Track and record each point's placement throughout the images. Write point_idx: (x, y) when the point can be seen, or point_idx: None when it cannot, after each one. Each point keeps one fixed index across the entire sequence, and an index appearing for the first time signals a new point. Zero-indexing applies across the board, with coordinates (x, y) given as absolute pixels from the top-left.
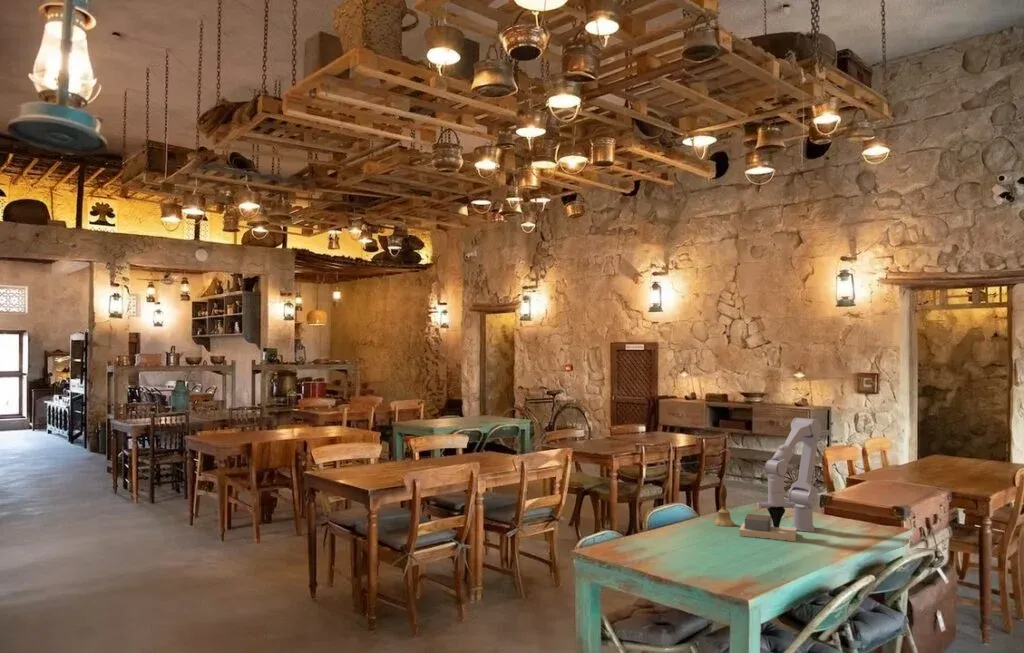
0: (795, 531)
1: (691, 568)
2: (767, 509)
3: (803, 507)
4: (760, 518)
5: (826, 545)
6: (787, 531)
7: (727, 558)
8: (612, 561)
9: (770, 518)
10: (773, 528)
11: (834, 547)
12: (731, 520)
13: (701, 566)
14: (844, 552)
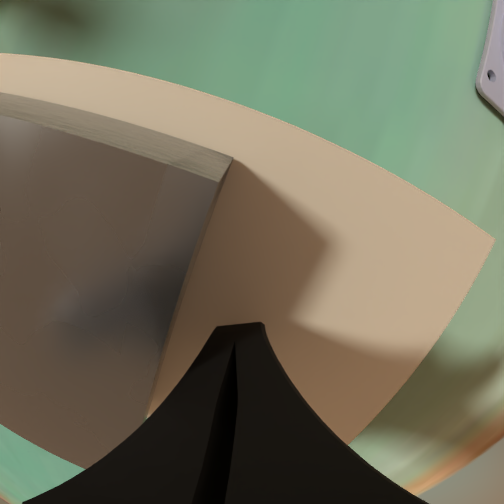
0: (404, 381)
1: (10, 494)
2: (28, 500)
3: None
4: (12, 384)
5: (439, 439)
6: (333, 390)
7: (41, 492)
8: None
9: (146, 408)
10: (222, 288)
11: (445, 451)
12: None
13: (18, 496)
14: (425, 483)
